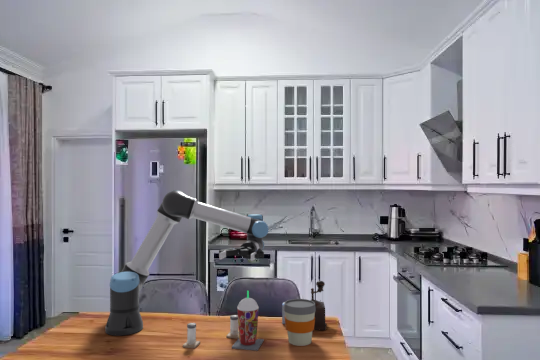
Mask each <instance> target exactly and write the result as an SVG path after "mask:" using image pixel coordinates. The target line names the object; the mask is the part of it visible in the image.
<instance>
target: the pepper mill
mask: <svg viewBox="0 0 540 360" xmlns="http://www.w3.org/2000/svg"><path fill="white" fill-rule="evenodd" d="M315 284H316V287H317V290H315V289H314V288H313V287H312V288H311V289H310V290H311V291H310V293H311V299H310V300H311V301H313V302H315V308H316V311H315V315H314V317H315V324H314V330H313V331H326V330H327V328H326V327H327V323H326V306H325V305H326V304H325V303H324V301H322V300H321V299H319V300H317V299H315V297H314V295H315V294H319V293H322V292H324V287H325V285H326V284H325V282H324V281H323V280H318V281H316V283H315ZM314 290H315V291H314Z"/></svg>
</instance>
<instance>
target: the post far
mask: <svg viewBox="0 0 540 360" xmlns="http://www.w3.org/2000/svg"><path fill="white" fill-rule="evenodd" d="M229 317H230V318H229V320H230V323H229V324H230V330H229V332H228V334H226V338H227V339H236V340H238V338H239V328H238V314H231V315H230V316H229Z"/></svg>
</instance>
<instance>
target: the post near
mask: <svg viewBox="0 0 540 360" xmlns="http://www.w3.org/2000/svg"><path fill="white" fill-rule="evenodd" d="M186 324H187V325H186V327H187V331H186V332H187V339H186V341H185V343H183V344H182V348H187V349H188V348H189V349H196V348H197V347H198V346H199V345H200V344H201V341H200V340H197V323H196V322H189V323H186Z"/></svg>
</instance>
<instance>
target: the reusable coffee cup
mask: <svg viewBox="0 0 540 360" xmlns="http://www.w3.org/2000/svg"><path fill="white" fill-rule="evenodd" d="M284 302H285V304H284V311H285V324H284V325H285V330H286V331H287V332H286V333H287V339H288V340H287V341H288V343H289V344H290V345H292V346H298V347H300V346H301V347H302V346H308V345H310V344H312V341H313V340H312V339H313V338H312V337H313V331H315V330H314V324H315V317H314V315H315V311H316V308H315V302H313V301H311V299H306V298H305V299H304V298H291V299H288V300H285V301H284Z"/></svg>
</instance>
